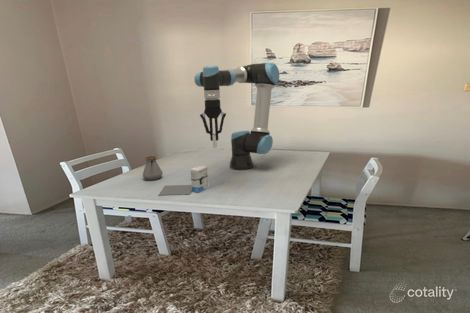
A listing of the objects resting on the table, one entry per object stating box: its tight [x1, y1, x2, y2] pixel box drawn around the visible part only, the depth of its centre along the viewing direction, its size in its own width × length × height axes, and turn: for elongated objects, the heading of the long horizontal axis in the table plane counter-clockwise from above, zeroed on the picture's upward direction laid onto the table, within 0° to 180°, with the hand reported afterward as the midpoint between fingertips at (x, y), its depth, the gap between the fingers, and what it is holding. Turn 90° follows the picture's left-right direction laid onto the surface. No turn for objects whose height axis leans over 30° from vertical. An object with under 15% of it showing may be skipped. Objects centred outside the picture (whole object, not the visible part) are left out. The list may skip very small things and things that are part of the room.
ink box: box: [190, 165, 209, 193], centre depth 155 cm, size 8×5×12 cm, turn 149°
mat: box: [158, 184, 193, 197], centre depth 157 cm, size 16×14×1 cm
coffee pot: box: [142, 155, 164, 181], centre depth 172 cm, size 21×12×15 cm, turn 18°
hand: (214, 146), depth 151 cm, fingers closed
